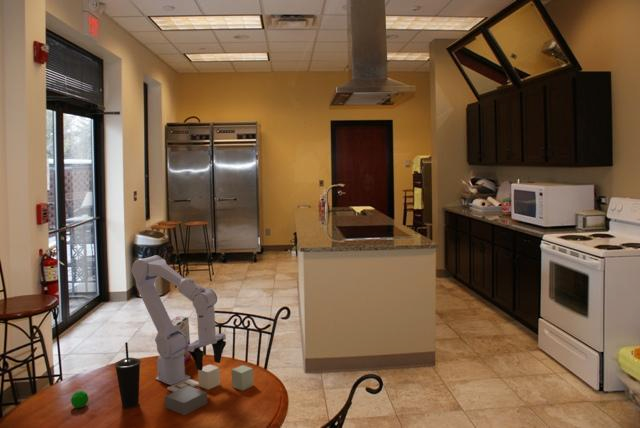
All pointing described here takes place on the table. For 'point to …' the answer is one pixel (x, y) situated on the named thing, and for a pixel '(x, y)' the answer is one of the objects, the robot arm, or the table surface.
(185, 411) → the gray block
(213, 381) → the cream block
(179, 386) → the tile
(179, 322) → the candy bar box
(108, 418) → the table surface
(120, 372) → the drinking cup
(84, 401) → the green ball
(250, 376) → the sage block
